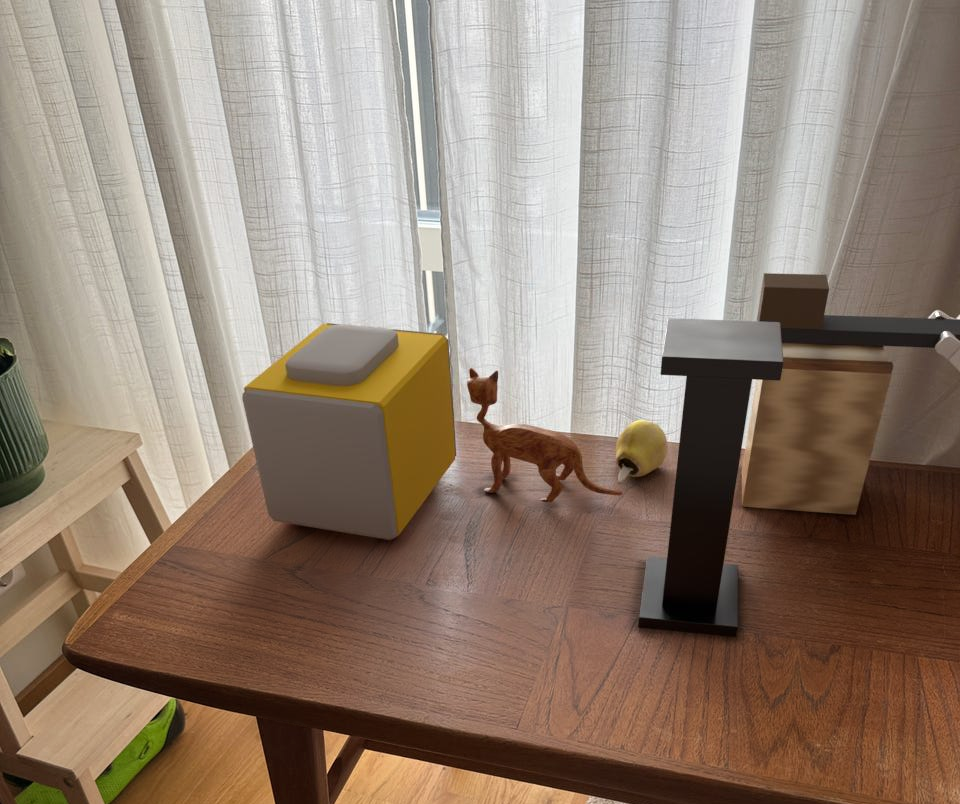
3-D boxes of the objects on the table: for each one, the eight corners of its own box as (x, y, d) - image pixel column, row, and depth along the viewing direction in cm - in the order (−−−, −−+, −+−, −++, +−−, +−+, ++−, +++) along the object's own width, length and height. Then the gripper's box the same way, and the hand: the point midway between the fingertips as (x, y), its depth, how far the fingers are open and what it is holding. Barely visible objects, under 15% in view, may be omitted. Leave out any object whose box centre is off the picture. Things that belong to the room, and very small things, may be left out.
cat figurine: (628, 488, 105) (636, 375, 97) (615, 518, 101) (622, 402, 92) (481, 468, 111) (476, 358, 102) (462, 495, 106) (455, 383, 97)
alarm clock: (342, 453, 115) (319, 306, 103) (460, 469, 111) (451, 317, 99) (264, 536, 101) (227, 378, 89) (396, 559, 97) (375, 395, 85)
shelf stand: (736, 574, 92) (779, 317, 75) (736, 637, 84) (784, 367, 68) (646, 566, 94) (668, 313, 77) (638, 627, 86) (661, 361, 70)
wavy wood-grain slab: (849, 478, 105) (884, 334, 94) (855, 515, 99) (894, 366, 88) (741, 470, 107) (763, 330, 97) (741, 506, 102) (765, 360, 91)
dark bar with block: (963, 333, 91) (980, 278, 88) (971, 349, 88) (988, 292, 85) (755, 326, 95) (763, 273, 91) (756, 341, 92) (764, 287, 89)
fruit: (594, 486, 106) (621, 437, 112) (641, 507, 106) (667, 456, 111) (607, 449, 102) (636, 400, 108) (657, 471, 101) (683, 420, 107)
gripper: (1046, 334, 97) (943, 265, 95) (1101, 423, 82) (980, 343, 80) (997, 381, 101) (898, 316, 99) (1042, 474, 86) (925, 399, 84)
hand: (935, 328), depth 89 cm, fingers closed on dark bar with block, 4 cm apart
